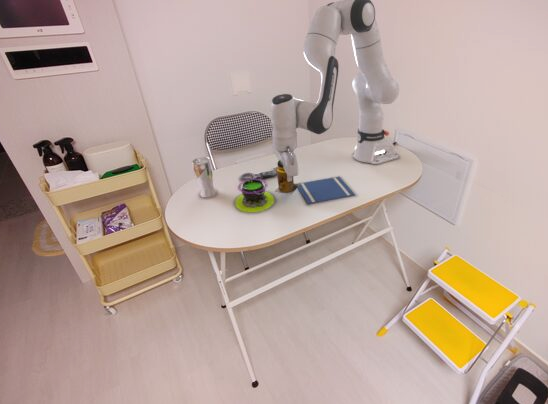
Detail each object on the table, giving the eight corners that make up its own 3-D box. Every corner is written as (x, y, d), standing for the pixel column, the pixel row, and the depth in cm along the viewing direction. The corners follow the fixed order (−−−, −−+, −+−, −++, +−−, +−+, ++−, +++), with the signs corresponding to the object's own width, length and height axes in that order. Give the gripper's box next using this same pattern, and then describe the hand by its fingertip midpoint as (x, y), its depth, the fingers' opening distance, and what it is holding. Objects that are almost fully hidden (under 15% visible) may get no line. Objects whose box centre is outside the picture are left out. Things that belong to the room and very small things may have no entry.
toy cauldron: (277, 208, 114) (275, 183, 108) (237, 215, 111) (232, 189, 105) (270, 189, 126) (268, 165, 120) (234, 194, 123) (229, 170, 117)
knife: (292, 158, 148) (302, 165, 141) (292, 161, 149) (303, 168, 142) (237, 174, 136) (246, 182, 128) (238, 177, 137) (246, 185, 129)
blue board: (339, 177, 135) (339, 176, 134) (354, 195, 122) (354, 194, 122) (296, 184, 129) (296, 183, 129) (307, 204, 117) (307, 203, 116)
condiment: (274, 191, 118) (271, 164, 111) (284, 181, 124) (282, 155, 118) (291, 195, 116) (289, 167, 109) (300, 184, 122) (299, 157, 115)
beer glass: (202, 189, 127) (195, 156, 118) (219, 189, 126) (212, 156, 118) (197, 198, 121) (188, 164, 112) (214, 198, 121) (206, 164, 112)
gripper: (301, 152, 101) (302, 187, 109) (286, 131, 117) (287, 163, 125) (283, 154, 100) (285, 190, 107) (270, 133, 116) (273, 166, 123)
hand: (286, 176), depth 116 cm, fingers closed on condiment, 6 cm apart
